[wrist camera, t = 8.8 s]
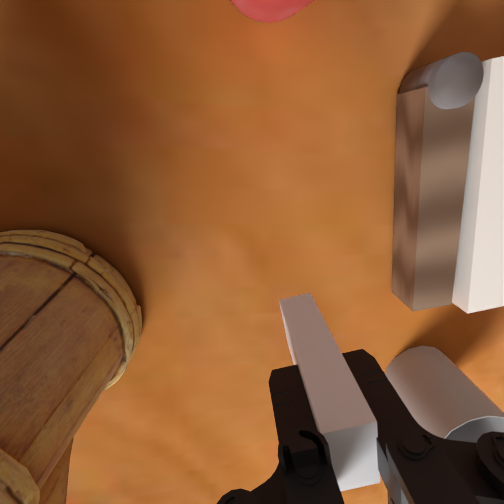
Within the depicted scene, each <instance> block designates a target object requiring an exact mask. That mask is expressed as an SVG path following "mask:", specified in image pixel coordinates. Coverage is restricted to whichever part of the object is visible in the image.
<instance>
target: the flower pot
mask: <svg viewBox="0 0 504 504" xmlns="http://www.w3.org/2000/svg"><path fill="white" fill-rule="evenodd" d="M313 1H314V0H231V2H232V3H233V4H234V5H235V6H236V7H237V8H238V9H239V10H240V11H241V12H242V13H243V14H244V15H246V16H247V17H249V18H251V19H254V20H257V21H260V22H268V23H271V22H278V21H282V20H285V19H287V18H289V17H291V16H292V15H294V14H295V13H297V12H298V11H300V10H301V9H303V8H304V7H306V6H307V5H309V4H310V3H311V2H313Z"/></svg>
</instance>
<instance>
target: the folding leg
mask: <svg viewBox="0 0 504 504" xmlns="http://www.w3.org/2000/svg"><path fill="white" fill-rule="evenodd" d="M483 76H484V70H483V65H482V62H481V60H480V59H479V57H478V56H477V55H475V54H473V53H471V52H459V53H457V54H454V55H451V56H449V57H446V58H443V59H440V60H438V61H435V62H432V63H430V64H427V65H424V66H422V67H419V68H416V69H414V70H412V71H411V72H410V73H409V74H407V76H406V77H405V78H404V80H403V81H402V84H401V86H400V90H399V94H397V108H396V148H395V188H394V228H393V269H392V293H393V294H395V295H396V296H397V297H398V298H399V299H400V300H401V301H402V302H403V303H404V304H405V305H406V306H408V307H409V308H410V309H411V310H412V311H418V310H424V309H429V308H435V307H440V306H446V305H451V304H452V297H453V289H454V280H455V271H456V262H457V253H458V244H459V236H460V227H461V218H462V209H463V200H464V192H465V183H466V174H467V165H468V156H469V148H470V139H471V130H472V121H473V112H474V103H475V96H476V94H477V93H478V91H479V89H480V87H481V85H482V82H483Z"/></svg>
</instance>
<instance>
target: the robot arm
mask: <svg viewBox="0 0 504 504" xmlns="http://www.w3.org/2000/svg"><path fill="white" fill-rule="evenodd" d="M279 302H280V307H281V312H282V317H283V322H284V327H285V332H286V337H287V342H288V346H289V349H290V353H291V356H292V360H293V363H294V365H292V366H288V367H284V368H279V369H275V370H272V372H271V376H270V379H269V387H270V393H271V399H272V405H273V411H274V417H275V422H276V428H277V434H278V440H279V445H278V458H279V464H278V466H277V469H276V471H275V472H274V473H273V475H272V476H271V477H270V478H269V479H268V480H267V481H266V482H264V483H263V484H261V485H260V486H258V487H257V488H255V489H254V490H252V491H251V492H250V491H247V490H244V489H236V490H231V491H230V492H228V493H226V494H225V495H223V496H222V497H221V499H220V500H219V501H218V503H217V504H344V501H343V498H342V495H341V491H345V490H349V489H354V488H358V487H363V486H367V485H372V484H376V483H380V475H381V477H382V479H383V481H384V484H385V486H386V488H387V490H388V504H504V432H495V431H491V432H488V433H484V434H482V435H481V436H480V437H479V439H478V440H477V443H474V442H466V441H457V440H449V439H444V438H441V437H438V436H436V435H433V434H432V433H430V432H428V431H427V430H425V429H424V428H423V427H421V426H420V425H419V424H418V423H417V421H416V420H415V419H414V418H413V416H412V415H411V413H410V412H409V410H408V409H407V407H406V406H405V404H404V402H403V401H402V399H401V398H400V396H399V395H398V393H397V392H396V390H395V389H394V387H393V386H392V384H391V383H390V381H389V380H388V378H387V376H386V375H385V373H384V372H383V371H382V369H381V367H380V366H379V364H378V363H377V361H376V359H375V358H374V357H373V356H371V355H370V354H369V353H367V352H366V351H365V350H363V349H360V350H356V351H351V352H347V353H341V351H340V349H339V347H338V345H337V343H336V342H335V340H334V338H333V336H332V334H331V332H330V330H329V328H328V326H327V324H326V322H325V320H324V318H323V316H322V314H321V313H320V311H319V309H318V307H317V305H316V303H315V301H314V299H313V297H312V295H311V293H307V294H303V295H298V296H294V297H290V298H285V299H281V300H279Z"/></svg>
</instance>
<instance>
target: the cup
mask: <svg viewBox="0 0 504 504" xmlns="http://www.w3.org/2000/svg"><path fill="white" fill-rule="evenodd" d="M385 375H386V376H387V378H388V380H389V381H390V383H391V384H392V386H393V387H394V389H395V390H396V392H397V393H398V395H399V396H400V398H401V399H402V401H403V402H404V404H405V406H406V407H407V409H408V410H409V412H410V413H411V415H412V416H413V418H414V419H415V420H416V421H417V423H418V424H419V425H420V426H421V427H423V428H424V429H425V430H427V431H428V432H430V433H432V434H433V435H436V436H438V437H441V438H444V439H449V440H457V441H466V442H474V443H477V440H478V439H479V437H480V436H481V435H482V434H484V433H488V432H491V431H495V432H504V413H503V412H502V411H501V410H500V409H499V408H498V407H497V406H496V405H495V404H494V403H493V402H492V401H491V400H490V399H489V398H488V397H487V396H486V395H485V394H484V393H483V392H482V391H481V390H480V389H479V388H478V387H477V386H476V385H475V384H474V383H473V382H472V381H471V380H470V379H469V378H468V377H467V376H466V375H465V374H464V373H463V372H462V371H461V370H460V369H459V368H458V367H457V366H456V365H455V364H454V363H453V362H452V361H451V360H450V359H449V358H448V357H447V356H446V355H445V354H443V353H442V352H441V351H440V350H438V349H437V348H436V347H429V346H418V347H414V348H410V349H407V350H405V351H404V352H402V353H401V354H399V355H398V356H396V357H395V358H394V359H393V360H392V362H391V363H390V364H389V366H388V367H387V368H386V373H385Z"/></svg>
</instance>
